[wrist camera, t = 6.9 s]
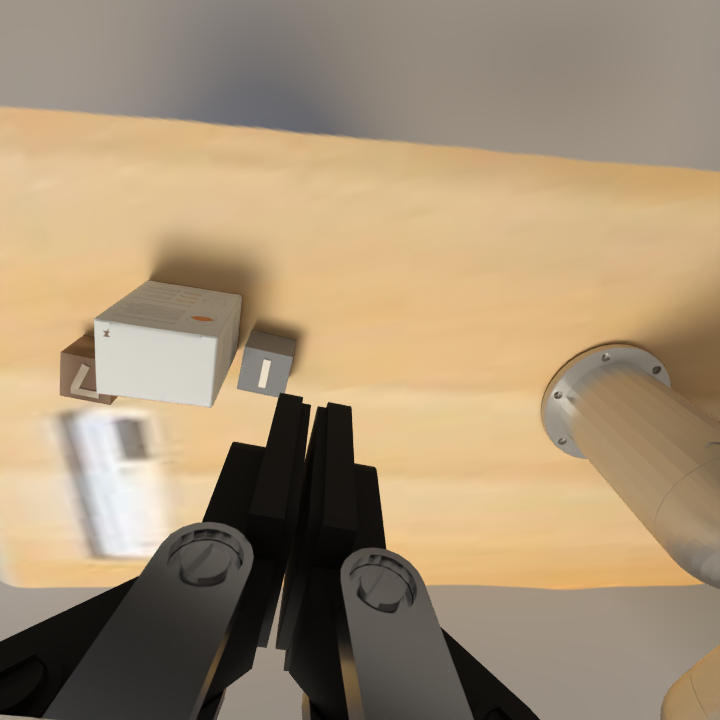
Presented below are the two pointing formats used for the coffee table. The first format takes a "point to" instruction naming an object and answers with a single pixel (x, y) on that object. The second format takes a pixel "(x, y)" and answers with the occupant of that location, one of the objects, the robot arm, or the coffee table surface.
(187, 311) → the small box
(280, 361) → the digit one block
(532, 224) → the coffee table surface
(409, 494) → the coffee table surface
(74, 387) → the digit seven block
